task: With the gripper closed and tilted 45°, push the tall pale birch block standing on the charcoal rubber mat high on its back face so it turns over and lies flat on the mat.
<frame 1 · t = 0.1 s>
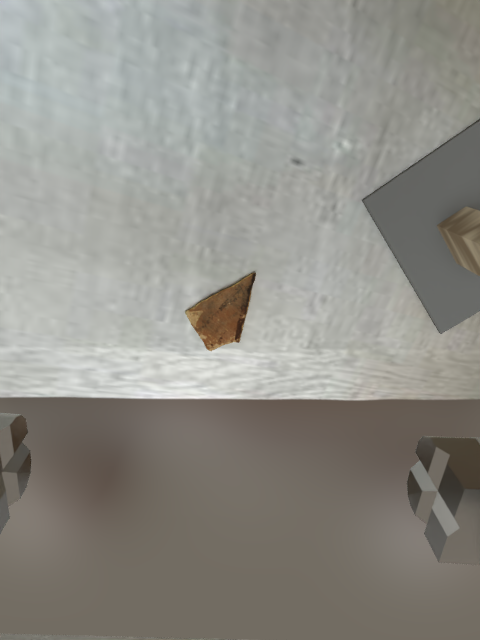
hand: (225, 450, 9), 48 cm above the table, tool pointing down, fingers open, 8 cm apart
birch block: (461, 235, 56), resting on rubber mat
shard: (217, 305, 60), on the table
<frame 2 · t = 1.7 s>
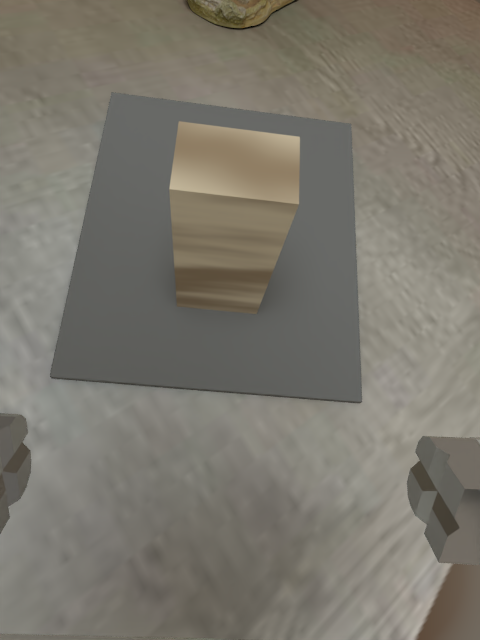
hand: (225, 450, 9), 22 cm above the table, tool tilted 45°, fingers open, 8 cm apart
rubber mat: (223, 233, 36), on the table
birch block: (219, 286, 34), resting on rubber mat
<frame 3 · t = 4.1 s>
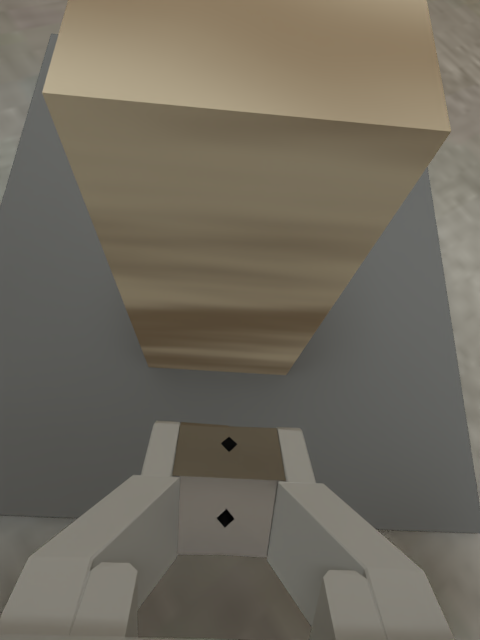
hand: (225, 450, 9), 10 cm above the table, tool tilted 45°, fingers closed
rubber mat: (225, 240, 23), on the table
birch block: (220, 328, 20), resting on rubber mat
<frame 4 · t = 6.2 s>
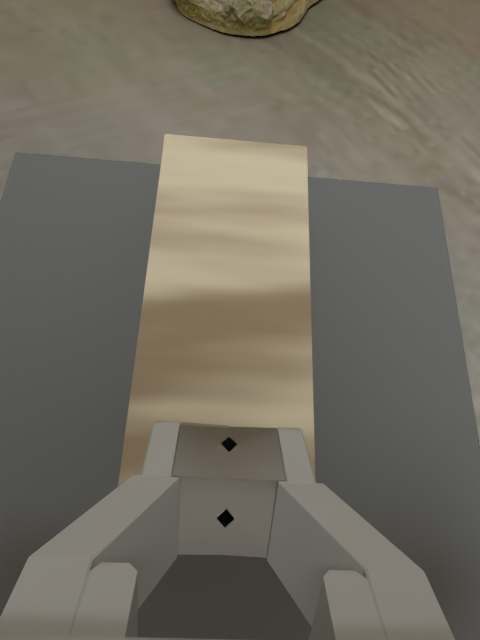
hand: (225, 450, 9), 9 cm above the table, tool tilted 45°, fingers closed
rubber mat: (218, 425, 19), on the table
birch block: (215, 497, 15), point 2 cm above the table, tilted 90°, touching rubber mat
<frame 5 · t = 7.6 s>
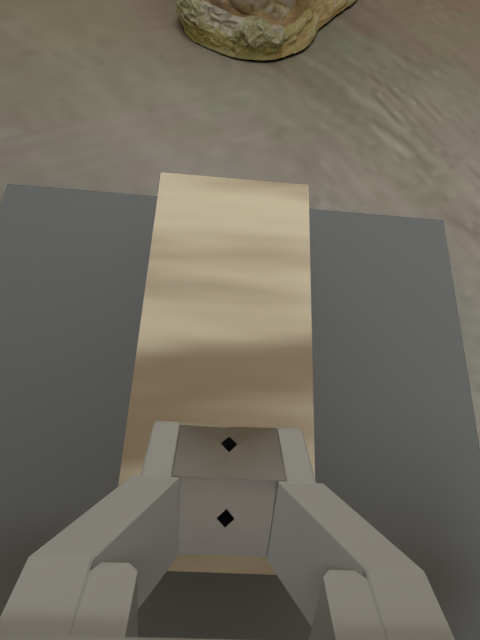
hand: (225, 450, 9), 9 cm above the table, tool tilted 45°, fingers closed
rubber mat: (215, 475, 18), on the table
birch block: (212, 563, 15), point 2 cm above the table, tilted 90°, touching rubber mat
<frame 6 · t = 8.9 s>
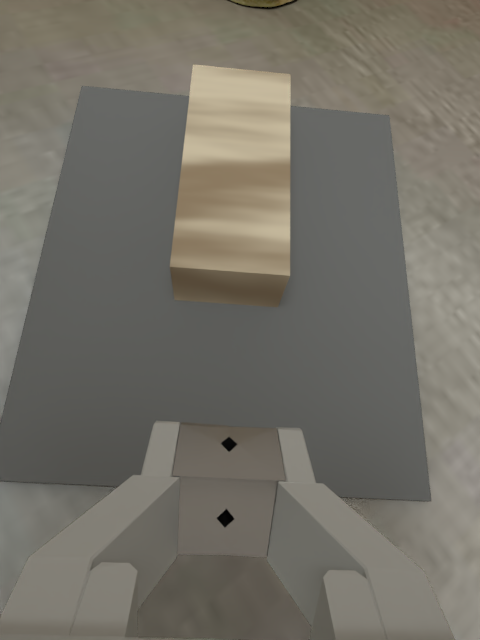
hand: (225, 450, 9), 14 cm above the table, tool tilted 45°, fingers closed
rubber mat: (228, 264, 27), on the table
birch block: (228, 288, 24), point 2 cm above the table, tilted 90°, touching rubber mat
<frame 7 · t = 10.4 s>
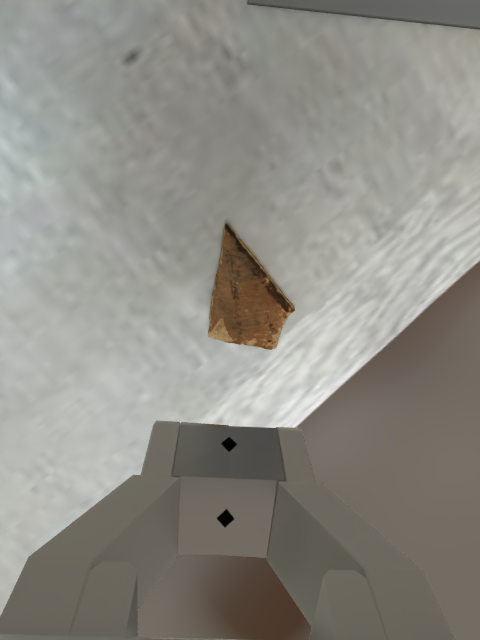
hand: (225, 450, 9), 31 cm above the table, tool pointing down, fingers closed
shard: (233, 296, 42), on the table
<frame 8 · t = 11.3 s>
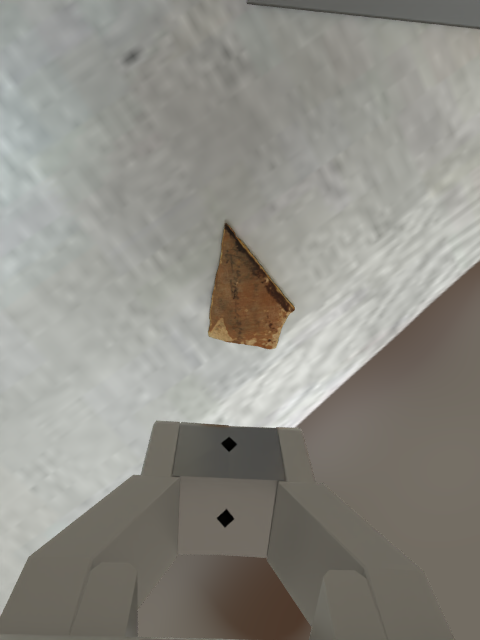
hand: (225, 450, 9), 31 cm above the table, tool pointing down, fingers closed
shard: (233, 295, 42), on the table
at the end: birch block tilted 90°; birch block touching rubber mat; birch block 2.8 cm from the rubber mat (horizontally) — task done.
